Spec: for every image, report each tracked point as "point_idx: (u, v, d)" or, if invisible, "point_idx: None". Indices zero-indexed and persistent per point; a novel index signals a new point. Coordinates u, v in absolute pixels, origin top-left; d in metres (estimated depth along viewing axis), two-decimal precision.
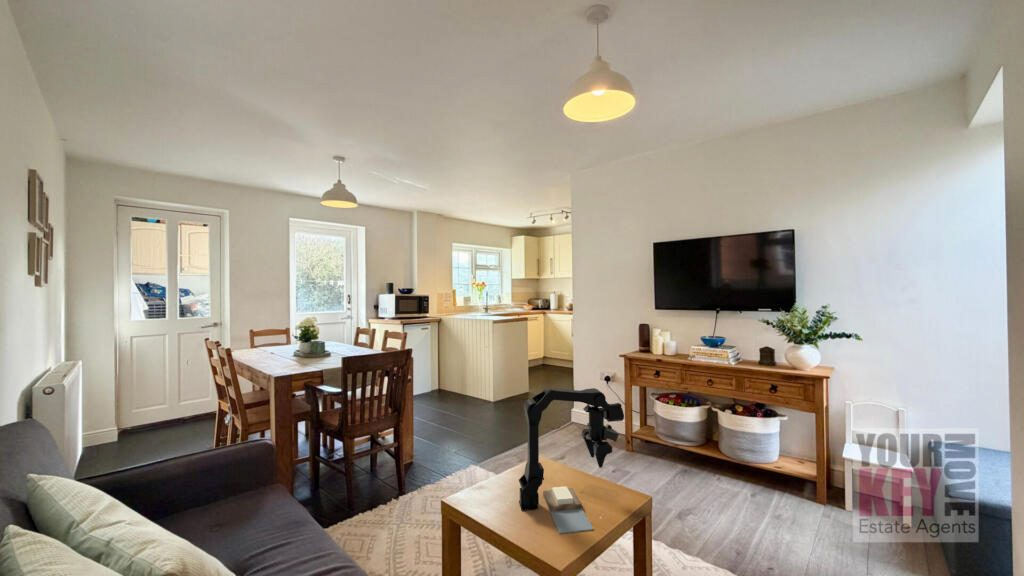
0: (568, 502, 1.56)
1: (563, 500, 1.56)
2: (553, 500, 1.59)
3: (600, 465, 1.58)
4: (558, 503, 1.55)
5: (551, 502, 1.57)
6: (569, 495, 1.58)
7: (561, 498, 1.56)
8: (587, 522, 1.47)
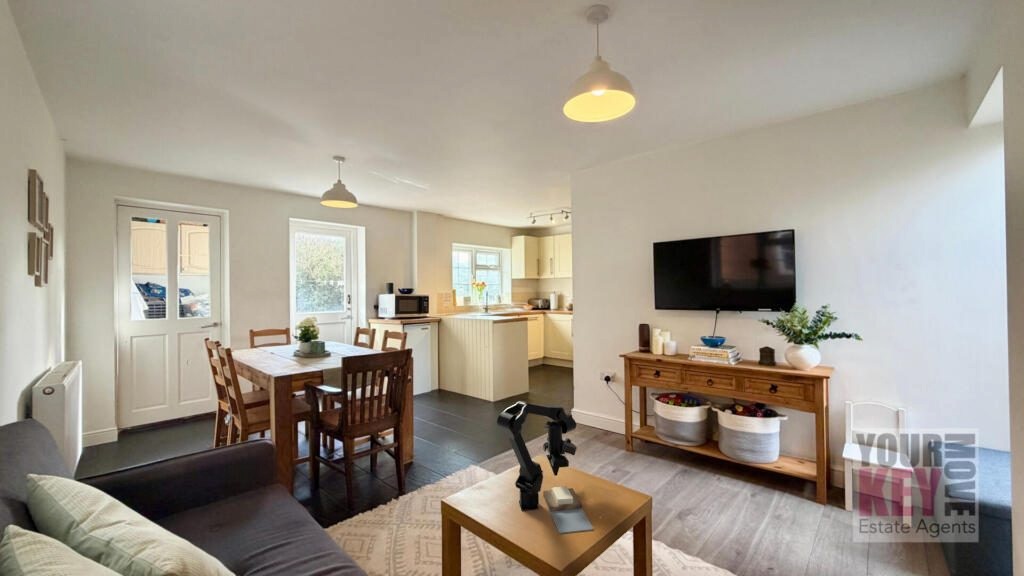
0: (568, 502, 1.56)
1: (563, 500, 1.56)
2: (553, 500, 1.59)
3: (555, 473, 1.69)
4: (558, 503, 1.55)
5: (551, 502, 1.57)
6: (569, 495, 1.58)
7: (561, 498, 1.56)
8: (587, 522, 1.47)
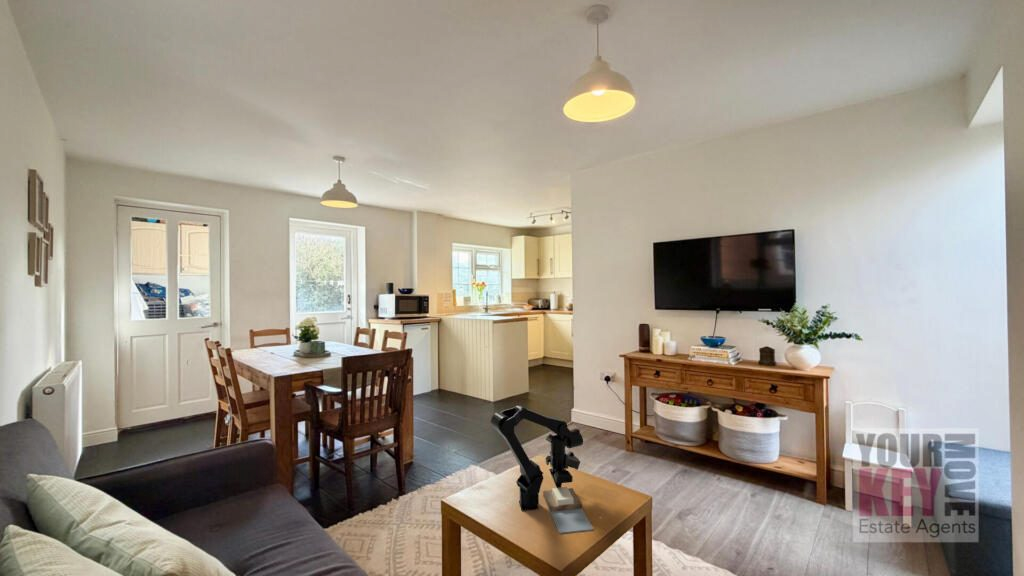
0: (568, 503, 1.56)
1: (563, 501, 1.55)
2: (553, 500, 1.59)
3: None
4: (558, 504, 1.55)
5: (551, 502, 1.57)
6: (569, 496, 1.58)
7: (561, 499, 1.56)
8: (587, 522, 1.47)
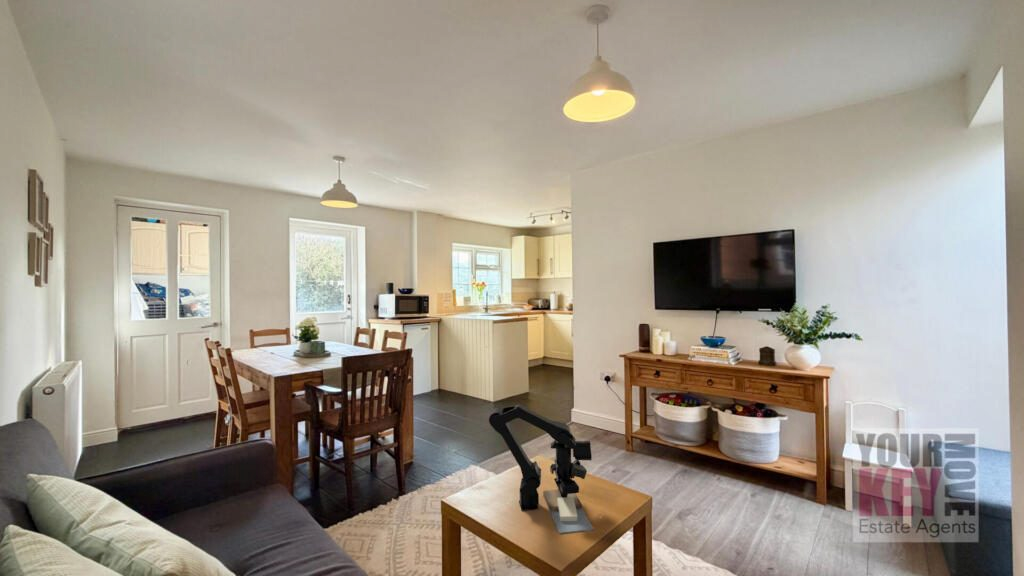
0: (572, 519, 1.48)
1: (566, 517, 1.47)
2: (553, 500, 1.59)
3: None
4: (561, 520, 1.48)
5: (551, 502, 1.57)
6: (574, 511, 1.49)
7: (565, 515, 1.48)
8: (587, 522, 1.47)
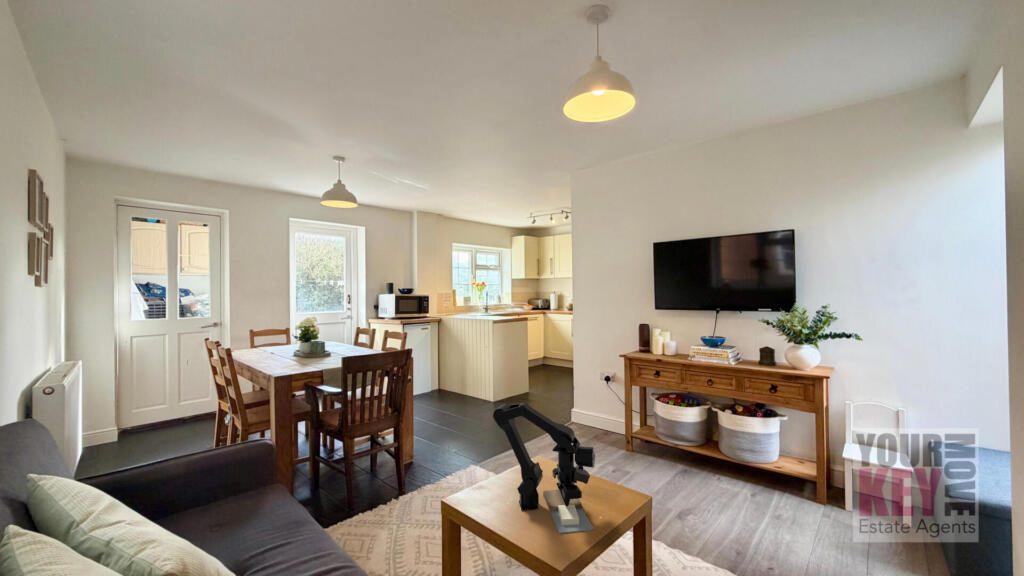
0: (573, 523, 1.46)
1: (568, 520, 1.45)
2: (553, 500, 1.59)
3: (566, 503, 1.53)
4: (563, 523, 1.45)
5: (551, 502, 1.57)
6: (575, 515, 1.48)
7: (566, 518, 1.46)
8: (587, 522, 1.47)
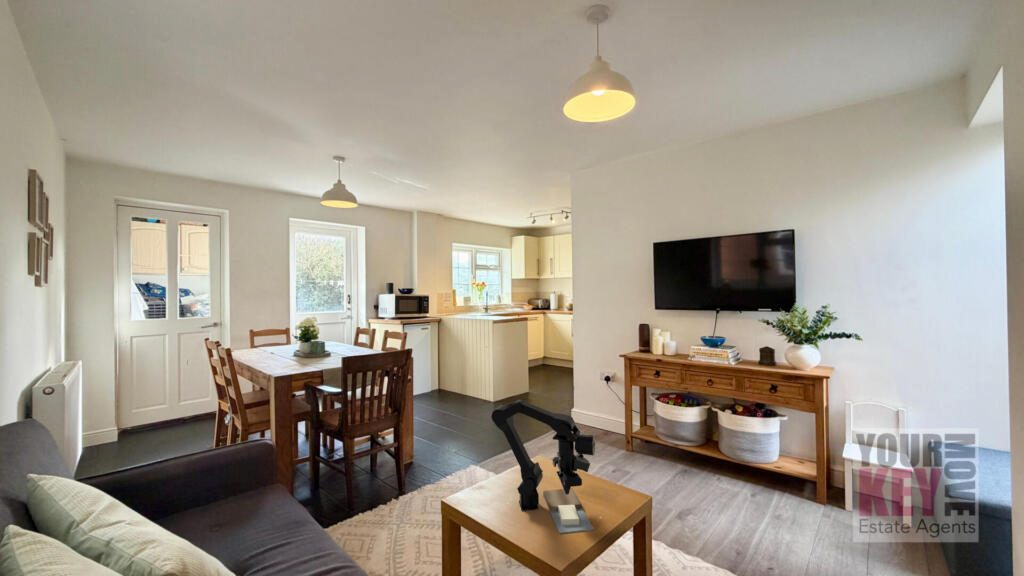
0: (573, 523, 1.46)
1: (568, 520, 1.45)
2: (553, 500, 1.59)
3: (566, 492, 1.53)
4: (563, 523, 1.45)
5: (551, 502, 1.57)
6: (575, 515, 1.48)
7: (566, 518, 1.46)
8: (587, 522, 1.47)
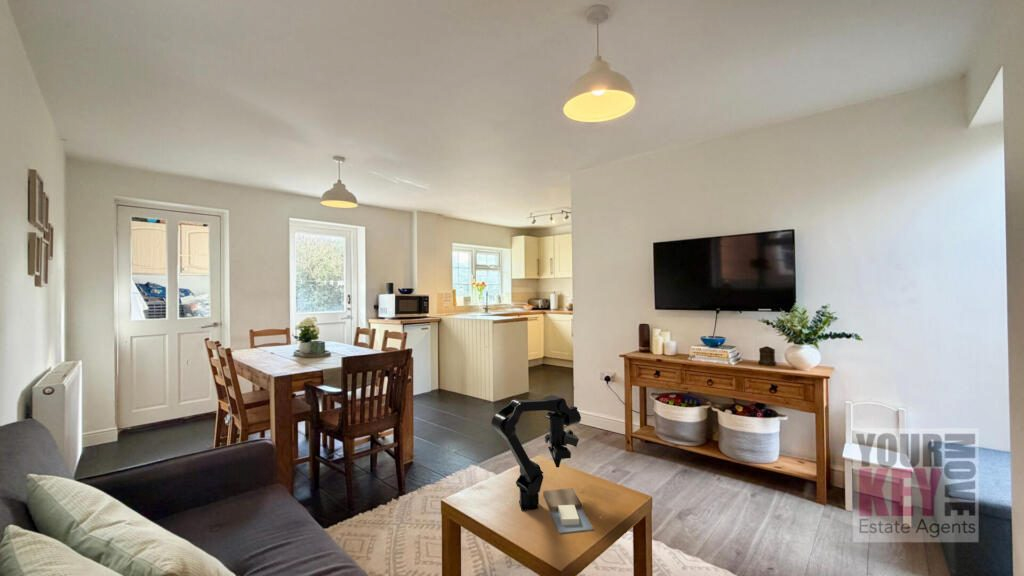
0: (573, 523, 1.46)
1: (568, 520, 1.45)
2: (553, 500, 1.59)
3: (557, 465, 1.66)
4: (563, 523, 1.45)
5: (551, 502, 1.57)
6: (575, 515, 1.48)
7: (566, 518, 1.46)
8: (587, 522, 1.47)
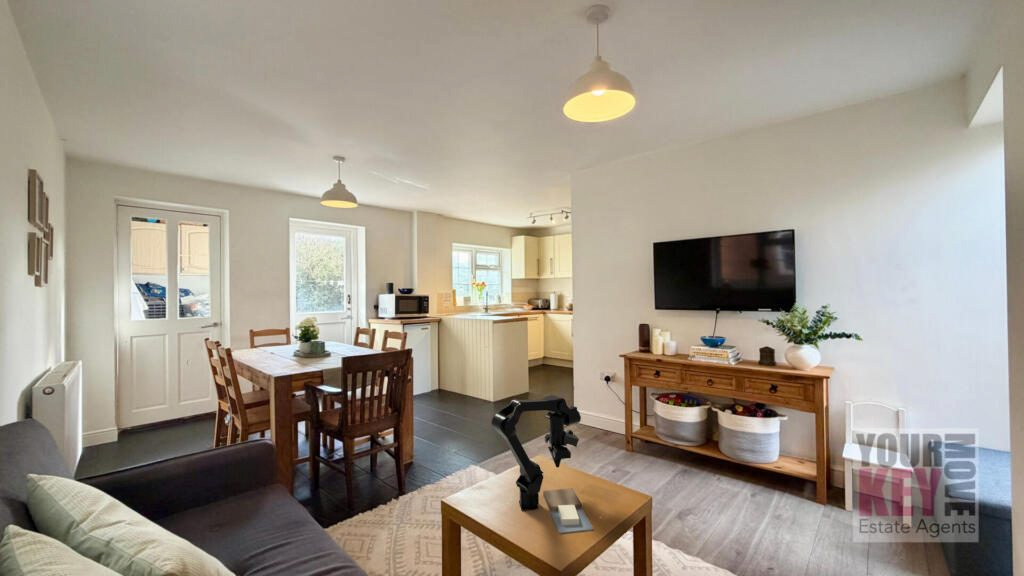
0: (573, 523, 1.46)
1: (568, 520, 1.45)
2: (553, 500, 1.59)
3: (557, 465, 1.66)
4: (563, 523, 1.45)
5: (551, 502, 1.57)
6: (575, 515, 1.48)
7: (566, 518, 1.46)
8: (587, 522, 1.47)
